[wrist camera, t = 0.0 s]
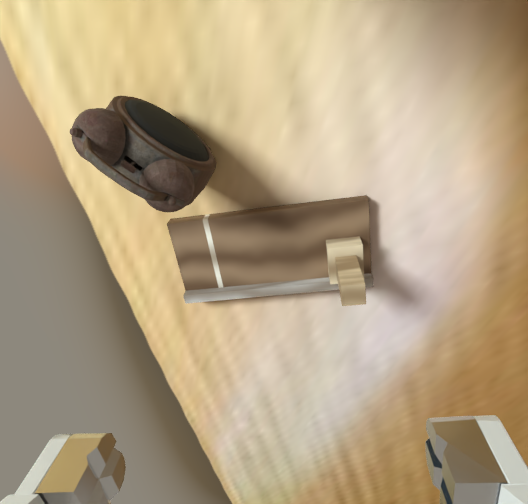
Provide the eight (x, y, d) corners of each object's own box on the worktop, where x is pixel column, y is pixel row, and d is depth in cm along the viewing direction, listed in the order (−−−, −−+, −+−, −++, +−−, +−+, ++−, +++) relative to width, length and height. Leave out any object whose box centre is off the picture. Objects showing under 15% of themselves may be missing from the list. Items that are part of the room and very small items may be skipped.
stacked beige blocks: (325, 239, 57) (331, 276, 47) (359, 236, 57) (373, 272, 47) (328, 274, 60) (335, 316, 50) (361, 271, 59) (374, 313, 49)
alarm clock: (232, 148, 54) (201, 190, 36) (204, 187, 57) (163, 244, 39) (143, 81, 51) (62, 90, 33) (119, 125, 54) (32, 157, 36)
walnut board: (170, 219, 60) (163, 227, 57) (366, 195, 56) (370, 203, 53) (191, 294, 66) (186, 305, 63) (369, 277, 62) (373, 289, 59)
